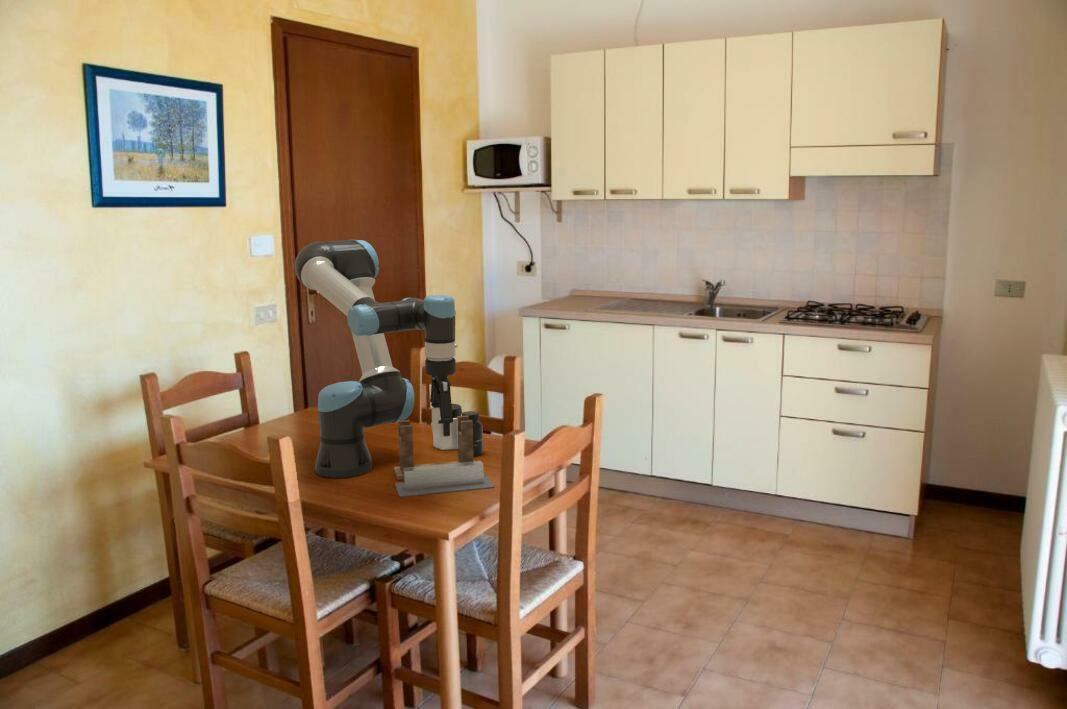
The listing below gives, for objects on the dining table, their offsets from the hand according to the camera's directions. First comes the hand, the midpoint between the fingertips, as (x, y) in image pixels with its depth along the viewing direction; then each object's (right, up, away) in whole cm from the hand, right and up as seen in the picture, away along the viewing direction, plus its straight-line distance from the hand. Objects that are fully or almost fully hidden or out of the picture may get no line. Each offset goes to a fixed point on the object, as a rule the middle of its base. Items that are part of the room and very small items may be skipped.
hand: (441, 439), depth 215 cm
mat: (0, -12, +2) cm, 12 cm away
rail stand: (-3, -10, +13) cm, 17 cm away
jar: (-2, -6, +36) cm, 36 cm away
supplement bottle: (+5, -7, +29) cm, 30 cm away
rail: (0, -12, +2) cm, 12 cm away
